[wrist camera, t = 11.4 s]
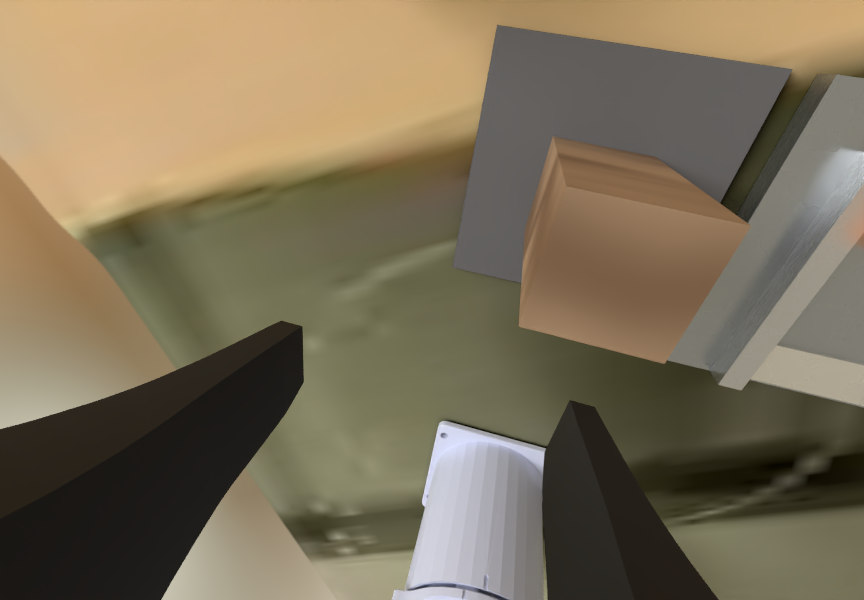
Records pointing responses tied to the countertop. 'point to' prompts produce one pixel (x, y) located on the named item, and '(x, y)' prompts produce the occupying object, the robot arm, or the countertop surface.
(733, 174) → the rubber mat
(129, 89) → the countertop surface
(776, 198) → the grey tray
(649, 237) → the block
